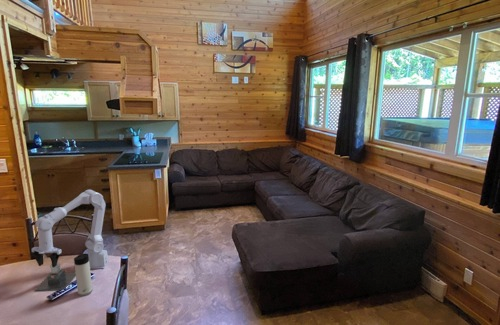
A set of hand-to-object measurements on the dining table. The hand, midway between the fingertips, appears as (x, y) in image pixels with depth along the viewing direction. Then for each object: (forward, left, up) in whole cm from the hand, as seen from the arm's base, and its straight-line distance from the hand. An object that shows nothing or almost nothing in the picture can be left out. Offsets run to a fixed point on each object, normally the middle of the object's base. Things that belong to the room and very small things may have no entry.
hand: (47, 265), depth 153 cm
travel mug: (-20, +8, -11) cm, 25 cm away
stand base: (-2, -2, -11) cm, 11 cm away
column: (-2, -2, -10) cm, 11 cm away
